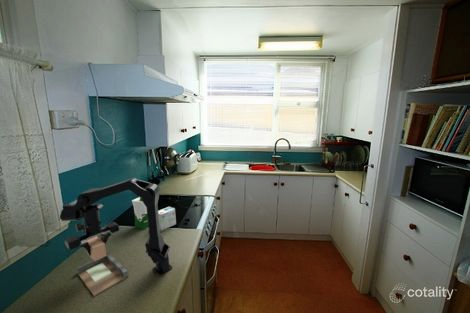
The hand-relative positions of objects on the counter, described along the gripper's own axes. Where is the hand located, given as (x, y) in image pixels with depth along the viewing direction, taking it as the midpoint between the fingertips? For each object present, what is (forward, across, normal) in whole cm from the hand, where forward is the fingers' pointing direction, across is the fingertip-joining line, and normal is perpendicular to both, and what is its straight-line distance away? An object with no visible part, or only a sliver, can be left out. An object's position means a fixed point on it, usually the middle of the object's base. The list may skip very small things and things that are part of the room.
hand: (96, 252), depth 91 cm
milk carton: (+10, -34, -25) cm, 43 cm away
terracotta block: (+1, 0, 0) cm, 1 cm away
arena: (+10, 0, +2) cm, 11 cm away
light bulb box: (+11, -43, -13) cm, 46 cm away
